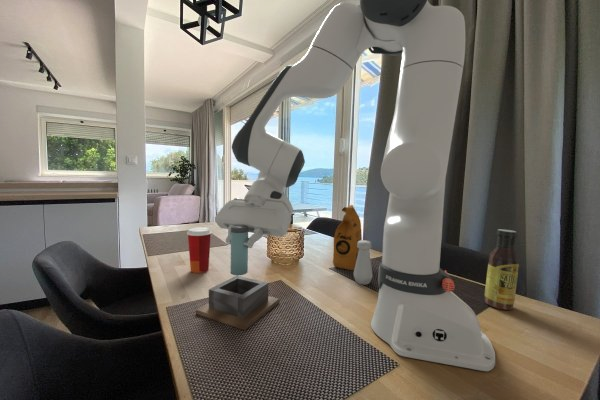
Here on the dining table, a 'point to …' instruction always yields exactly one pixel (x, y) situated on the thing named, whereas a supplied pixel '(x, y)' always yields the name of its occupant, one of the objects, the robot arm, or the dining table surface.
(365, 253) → the salt shaker
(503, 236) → the sauce bottle
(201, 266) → the paper cup
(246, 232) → the marker peg
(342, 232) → the coffee package
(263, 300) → the grey box holder
